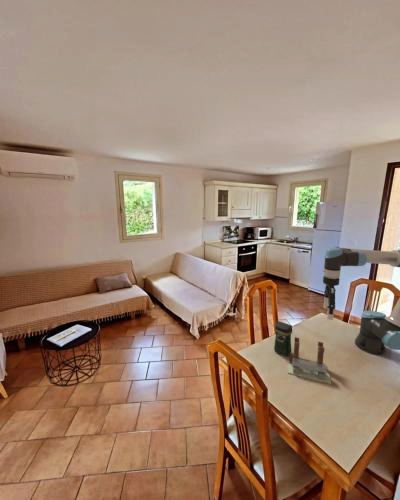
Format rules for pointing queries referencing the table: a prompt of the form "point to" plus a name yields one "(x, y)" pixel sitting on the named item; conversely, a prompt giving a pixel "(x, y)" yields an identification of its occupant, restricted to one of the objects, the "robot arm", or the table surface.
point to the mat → (309, 374)
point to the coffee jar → (283, 338)
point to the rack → (296, 355)
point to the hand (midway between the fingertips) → (328, 313)
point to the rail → (309, 366)
